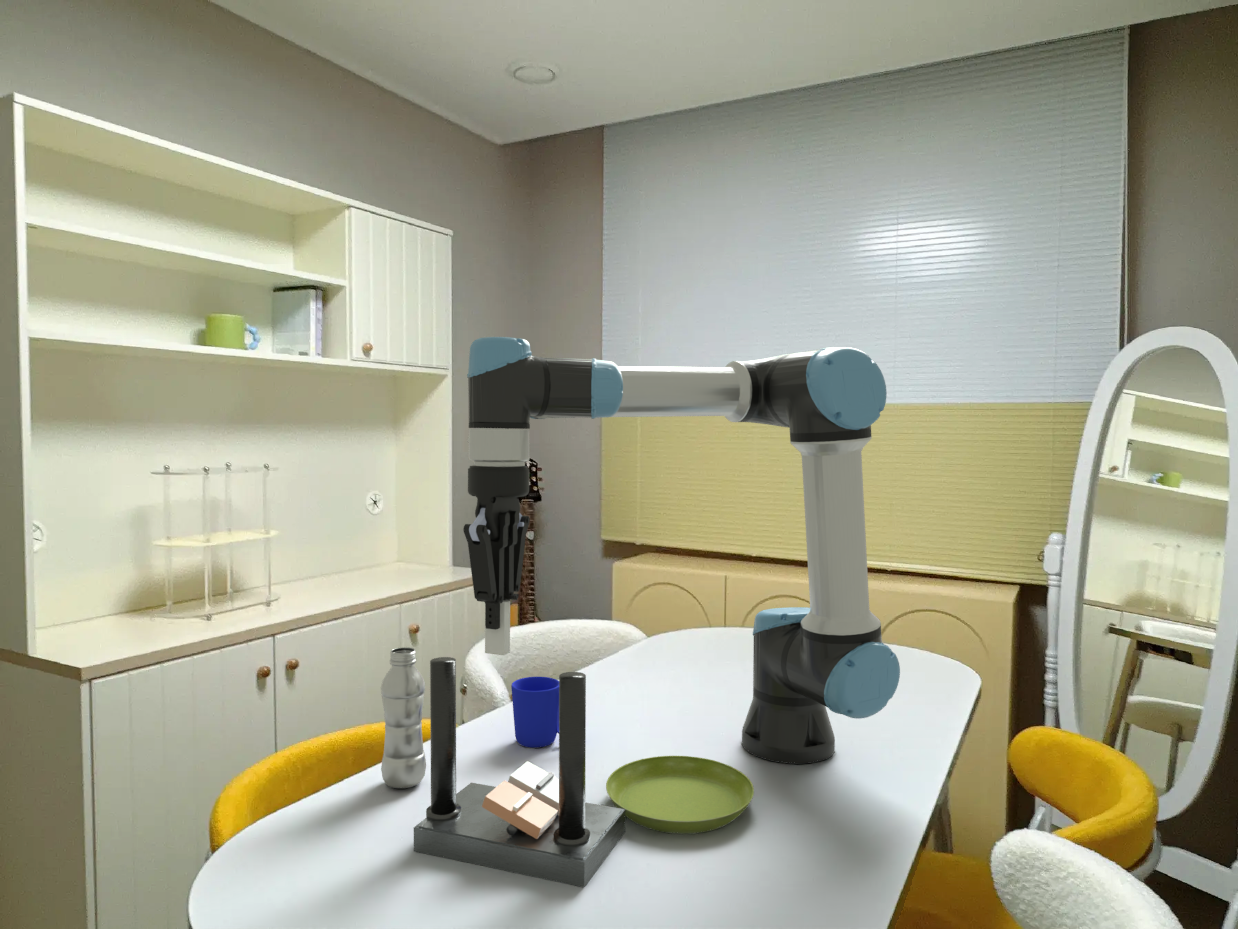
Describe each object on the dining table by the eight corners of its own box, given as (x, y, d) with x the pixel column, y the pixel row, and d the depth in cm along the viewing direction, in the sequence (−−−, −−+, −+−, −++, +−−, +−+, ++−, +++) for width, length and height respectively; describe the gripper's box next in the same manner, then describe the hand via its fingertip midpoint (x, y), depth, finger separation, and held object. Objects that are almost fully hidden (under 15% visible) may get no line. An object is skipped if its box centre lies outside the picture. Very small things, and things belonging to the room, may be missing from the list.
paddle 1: (574, 799, 110) (579, 786, 110) (559, 815, 105) (564, 802, 105) (523, 770, 113) (528, 757, 112) (506, 785, 108) (511, 772, 108)
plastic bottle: (386, 797, 118) (385, 659, 117) (377, 779, 124) (376, 647, 123) (431, 789, 121) (430, 653, 120) (420, 771, 127) (419, 642, 126)
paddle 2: (554, 821, 104) (559, 807, 104) (536, 839, 99) (542, 825, 99) (501, 790, 106) (505, 776, 106) (481, 807, 102) (486, 792, 101)
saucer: (609, 775, 127) (609, 754, 127) (744, 777, 126) (744, 756, 126) (602, 842, 106) (602, 818, 106) (763, 845, 106) (764, 821, 105)
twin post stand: (625, 831, 108) (626, 658, 107) (584, 887, 95) (585, 690, 94) (466, 802, 116) (466, 641, 115) (408, 850, 103) (407, 668, 102)
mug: (575, 756, 133) (575, 694, 133) (504, 749, 136) (504, 689, 135) (587, 737, 141) (588, 679, 141) (520, 731, 144) (520, 675, 143)
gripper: (497, 461, 110) (496, 637, 111) (443, 464, 97) (442, 663, 98) (548, 463, 107) (547, 643, 108) (500, 466, 95) (498, 670, 96)
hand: (497, 652), depth 103 cm, fingers closed
